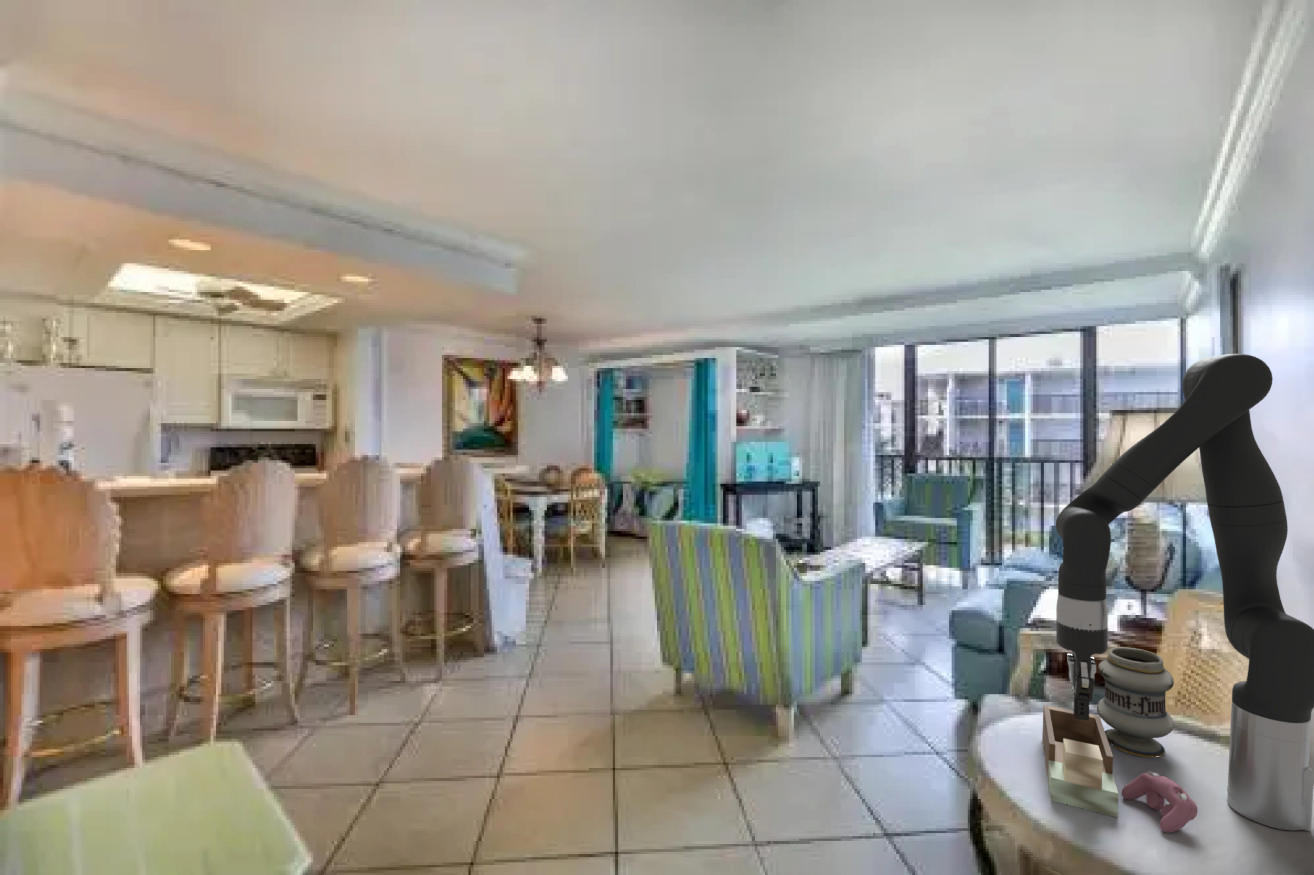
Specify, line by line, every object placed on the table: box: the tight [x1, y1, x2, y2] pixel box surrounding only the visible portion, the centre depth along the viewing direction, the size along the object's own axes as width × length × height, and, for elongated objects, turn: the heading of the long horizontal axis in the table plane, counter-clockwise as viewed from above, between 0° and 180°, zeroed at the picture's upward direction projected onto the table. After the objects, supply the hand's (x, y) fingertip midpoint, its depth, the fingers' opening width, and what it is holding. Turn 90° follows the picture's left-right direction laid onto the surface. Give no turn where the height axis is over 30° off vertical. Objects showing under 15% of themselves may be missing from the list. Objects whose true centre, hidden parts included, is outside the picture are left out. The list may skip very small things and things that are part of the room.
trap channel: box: [1041, 704, 1119, 818], centre depth 114 cm, size 9×22×7 cm, turn 152°
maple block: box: [1062, 738, 1103, 790], centre depth 106 cm, size 5×5×5 cm
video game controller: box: [1120, 770, 1198, 833], centre depth 103 cm, size 10×5×7 cm, turn 179°
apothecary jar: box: [1096, 646, 1175, 758], centre depth 124 cm, size 12×12×18 cm
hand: (1081, 717), depth 112 cm, fingers closed
